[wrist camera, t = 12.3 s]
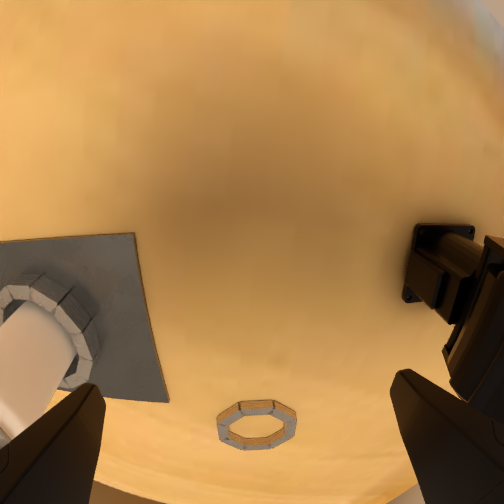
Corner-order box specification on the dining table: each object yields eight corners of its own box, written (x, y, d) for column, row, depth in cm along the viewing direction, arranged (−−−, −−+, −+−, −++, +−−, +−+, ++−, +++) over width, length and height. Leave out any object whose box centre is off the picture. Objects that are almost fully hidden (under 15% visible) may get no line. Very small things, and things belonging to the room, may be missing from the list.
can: (51, 363, 23) (-2, 456, 11) (11, 308, 20) (-62, 392, 9) (94, 348, 22) (40, 462, 11) (50, 285, 20) (-38, 385, 9)
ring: (297, 397, 26) (299, 405, 25) (291, 439, 28) (292, 446, 27) (214, 402, 25) (214, 410, 24) (221, 443, 28) (221, 450, 27)
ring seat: (134, 232, 19) (122, 244, 17) (169, 399, 25) (166, 418, 23) (-29, 244, 18) (-45, 253, 16) (23, 379, 24) (14, 392, 22)
